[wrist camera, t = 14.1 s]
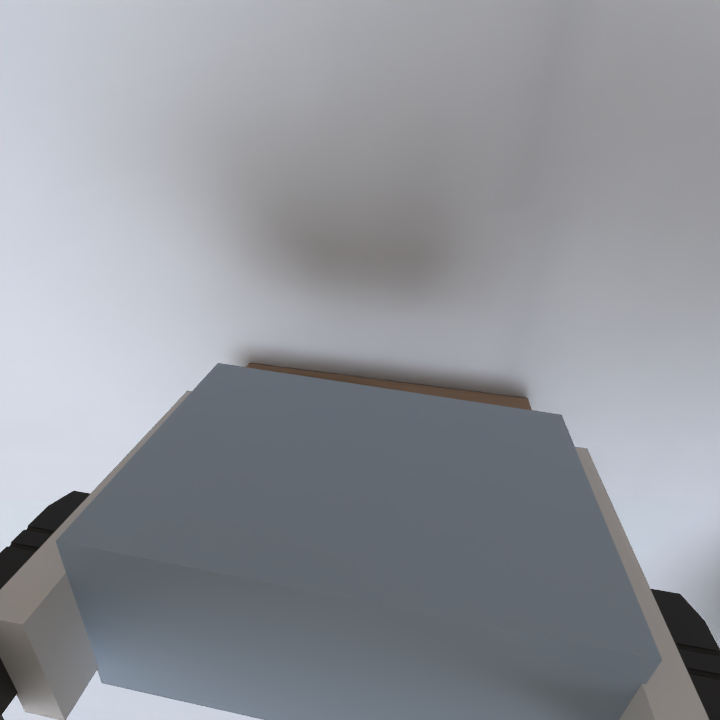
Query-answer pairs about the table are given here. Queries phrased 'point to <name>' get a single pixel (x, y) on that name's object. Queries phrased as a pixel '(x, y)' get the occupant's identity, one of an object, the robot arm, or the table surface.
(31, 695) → the robot arm
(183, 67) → the table surface
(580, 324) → the table surface
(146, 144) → the table surface
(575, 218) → the table surface
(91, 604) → the blue-grey rectangular block
